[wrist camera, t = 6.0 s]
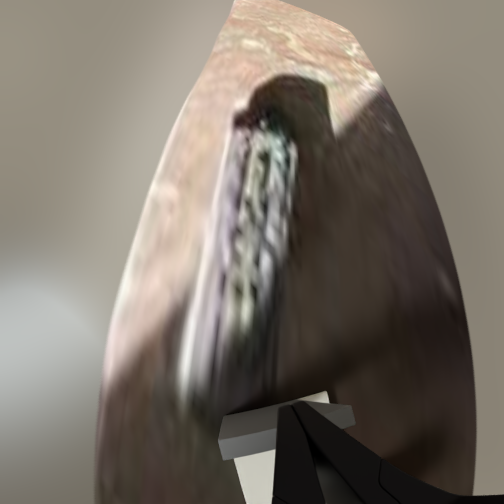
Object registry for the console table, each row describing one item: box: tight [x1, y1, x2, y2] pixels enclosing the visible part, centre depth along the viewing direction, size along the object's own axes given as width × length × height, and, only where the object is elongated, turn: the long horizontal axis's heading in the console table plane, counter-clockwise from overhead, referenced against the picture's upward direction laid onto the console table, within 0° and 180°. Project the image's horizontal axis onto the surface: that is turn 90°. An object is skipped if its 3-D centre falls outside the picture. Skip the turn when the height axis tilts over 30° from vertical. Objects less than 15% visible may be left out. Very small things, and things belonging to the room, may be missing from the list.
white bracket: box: [218, 391, 356, 504], centre depth 12 cm, size 13×10×10 cm
